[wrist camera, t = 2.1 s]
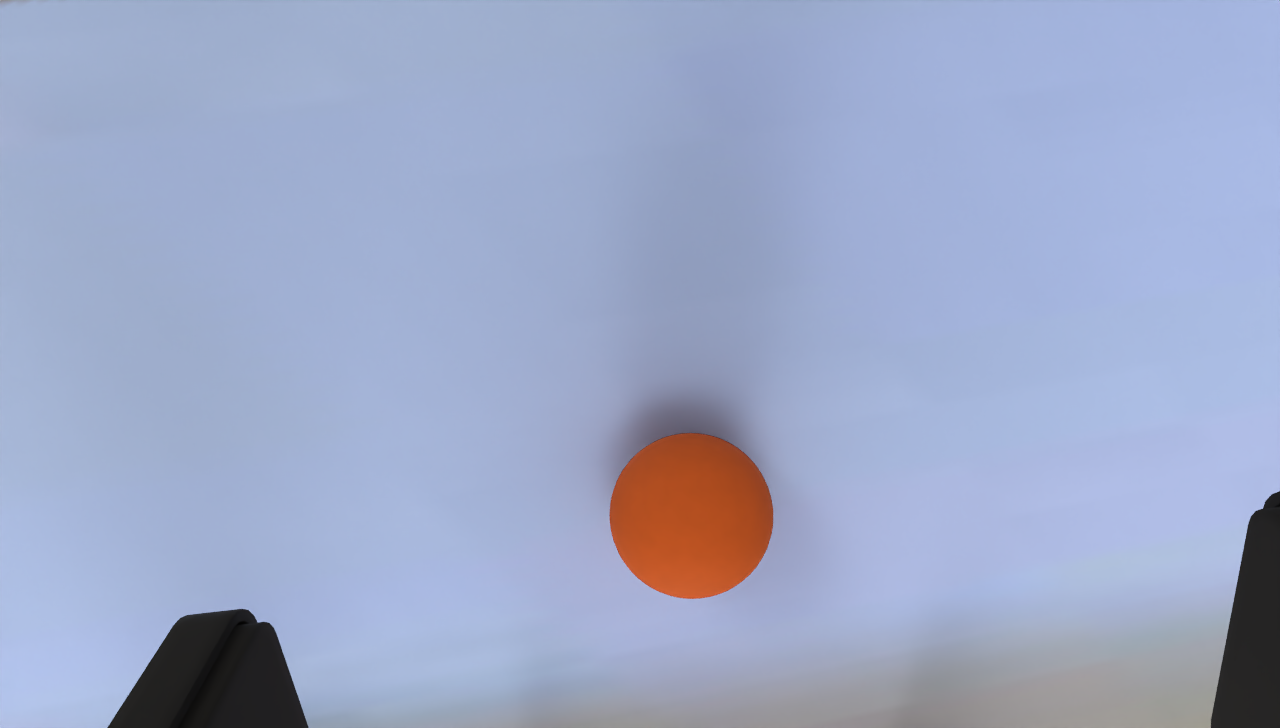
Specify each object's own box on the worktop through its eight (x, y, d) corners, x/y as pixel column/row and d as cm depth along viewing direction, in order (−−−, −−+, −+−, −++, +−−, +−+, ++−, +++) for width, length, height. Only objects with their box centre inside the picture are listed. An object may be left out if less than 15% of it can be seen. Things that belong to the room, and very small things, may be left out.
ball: (618, 544, 28) (622, 644, 24) (599, 415, 26) (599, 499, 22) (763, 526, 28) (792, 623, 24) (753, 396, 26) (782, 476, 22)
